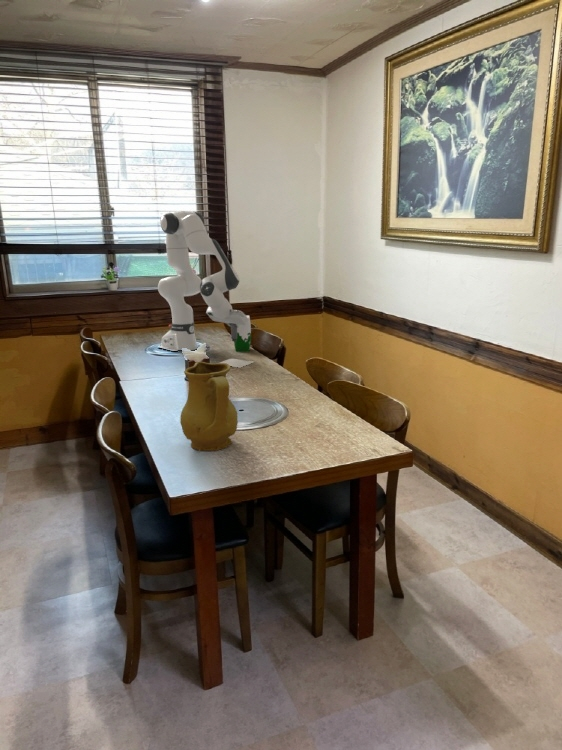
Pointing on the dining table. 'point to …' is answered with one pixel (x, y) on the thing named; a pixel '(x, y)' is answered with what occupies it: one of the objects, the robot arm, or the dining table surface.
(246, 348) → the milk carton
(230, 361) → the paper
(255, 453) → the dining table surface
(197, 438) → the pitcher
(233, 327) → the marker
